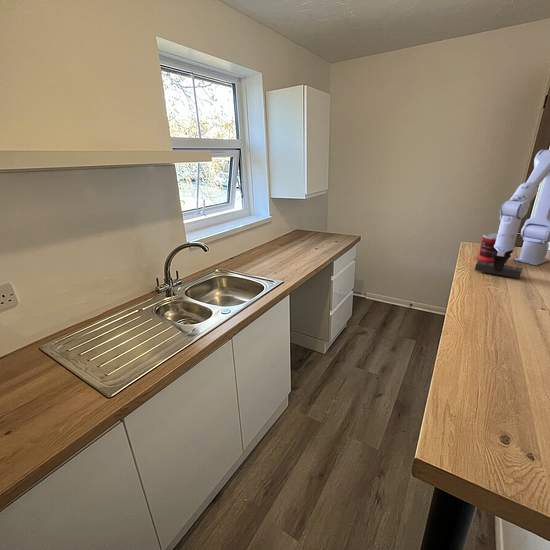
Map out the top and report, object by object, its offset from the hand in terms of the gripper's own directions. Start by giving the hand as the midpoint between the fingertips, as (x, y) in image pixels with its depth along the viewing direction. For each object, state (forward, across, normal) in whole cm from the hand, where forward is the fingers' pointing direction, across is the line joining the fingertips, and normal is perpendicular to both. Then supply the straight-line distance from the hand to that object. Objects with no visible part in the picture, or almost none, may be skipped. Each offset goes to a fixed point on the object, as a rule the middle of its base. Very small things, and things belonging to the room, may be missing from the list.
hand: (498, 269), depth 114 cm
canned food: (+2, +16, +5) cm, 17 cm away
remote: (+1, 0, 0) cm, 1 cm away
